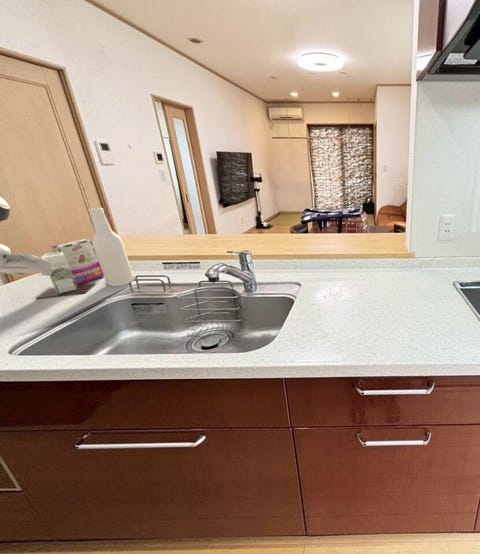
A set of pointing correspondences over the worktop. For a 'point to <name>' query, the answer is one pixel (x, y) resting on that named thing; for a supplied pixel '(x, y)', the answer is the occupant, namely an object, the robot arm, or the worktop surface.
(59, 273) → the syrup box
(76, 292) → the board
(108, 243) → the alcohol
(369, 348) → the worktop surface
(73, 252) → the candy bar box
